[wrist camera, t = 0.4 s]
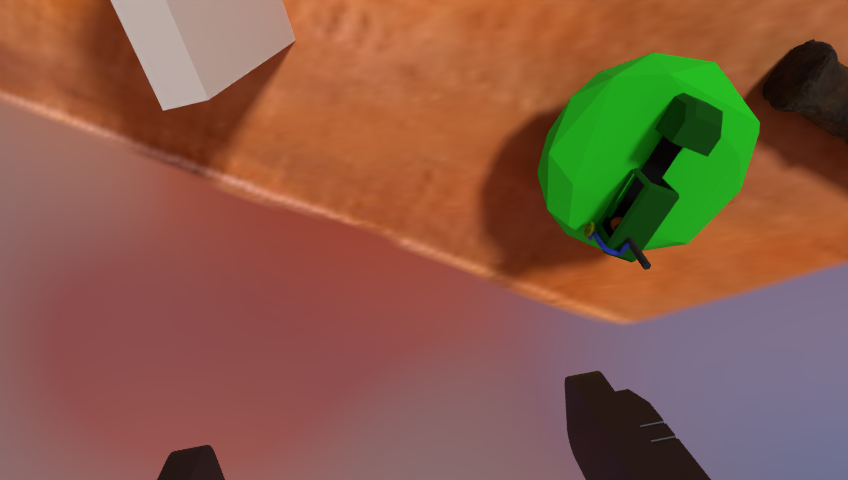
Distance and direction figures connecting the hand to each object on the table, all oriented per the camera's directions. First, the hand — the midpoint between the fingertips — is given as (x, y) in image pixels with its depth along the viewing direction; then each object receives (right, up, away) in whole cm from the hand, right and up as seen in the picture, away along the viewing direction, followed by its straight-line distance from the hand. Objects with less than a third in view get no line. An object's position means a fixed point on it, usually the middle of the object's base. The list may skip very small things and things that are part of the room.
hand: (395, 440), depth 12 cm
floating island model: (+14, +11, +22) cm, 28 cm away
